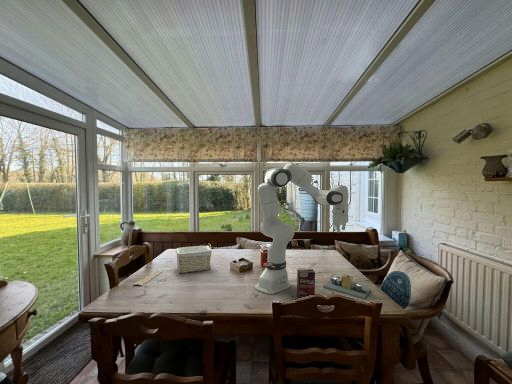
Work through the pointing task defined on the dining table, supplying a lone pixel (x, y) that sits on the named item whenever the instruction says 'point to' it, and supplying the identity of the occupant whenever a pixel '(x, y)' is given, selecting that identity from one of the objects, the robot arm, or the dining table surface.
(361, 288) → the shaft
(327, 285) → the bench plate
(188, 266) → the storage basket
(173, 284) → the dining table surface
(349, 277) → the coupler
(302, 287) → the supplement box
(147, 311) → the dining table surface
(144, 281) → the newspaper
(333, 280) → the shaft
